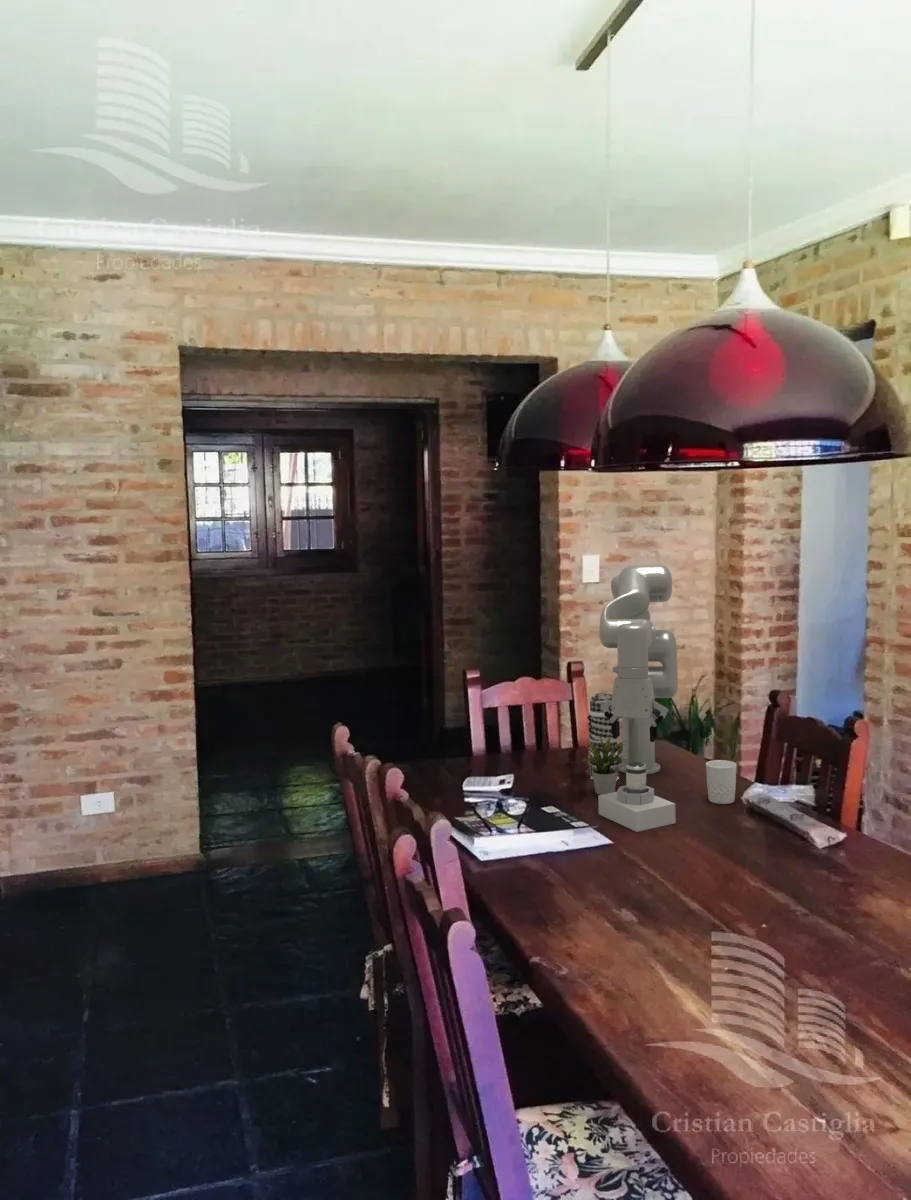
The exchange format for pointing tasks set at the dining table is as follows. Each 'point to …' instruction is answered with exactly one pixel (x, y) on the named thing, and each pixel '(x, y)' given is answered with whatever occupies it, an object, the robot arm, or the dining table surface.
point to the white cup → (721, 781)
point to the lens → (636, 777)
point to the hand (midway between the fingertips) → (634, 739)
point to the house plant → (604, 767)
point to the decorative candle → (601, 728)
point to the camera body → (637, 809)
